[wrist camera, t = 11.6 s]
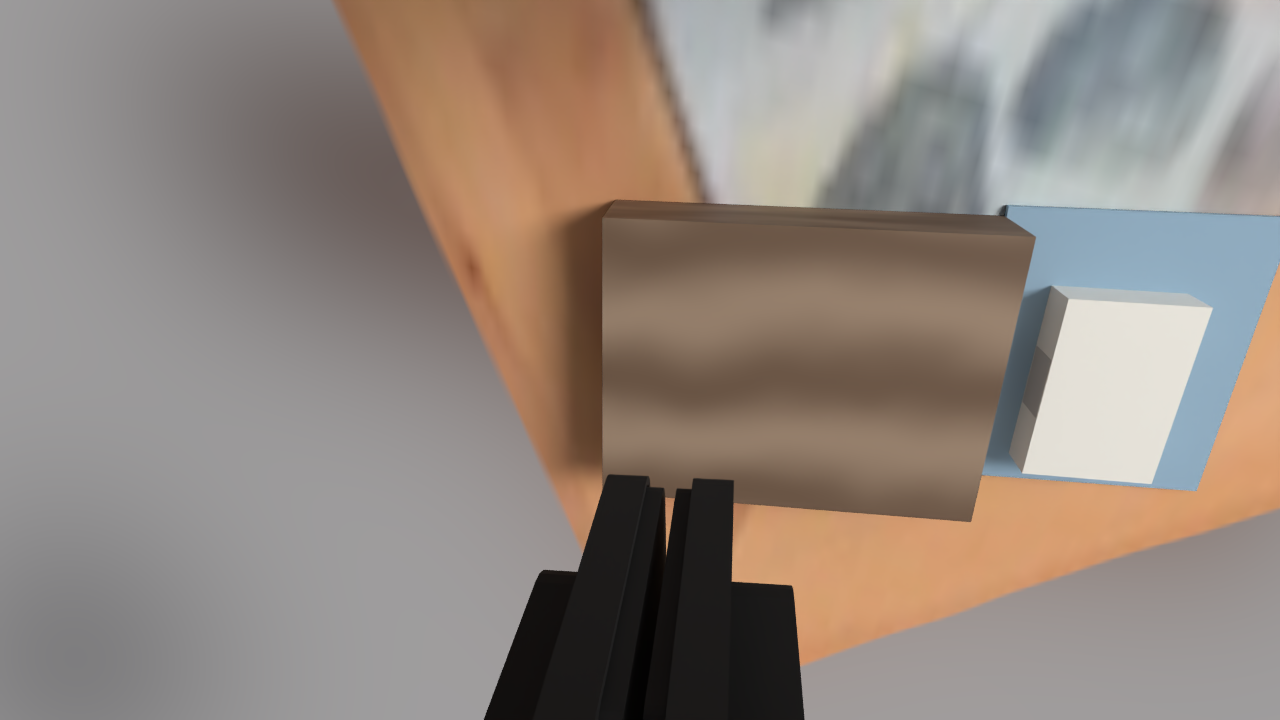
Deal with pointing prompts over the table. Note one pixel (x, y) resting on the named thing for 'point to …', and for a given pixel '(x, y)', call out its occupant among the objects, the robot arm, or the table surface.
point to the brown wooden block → (808, 351)
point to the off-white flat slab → (1106, 382)
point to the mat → (1159, 262)
